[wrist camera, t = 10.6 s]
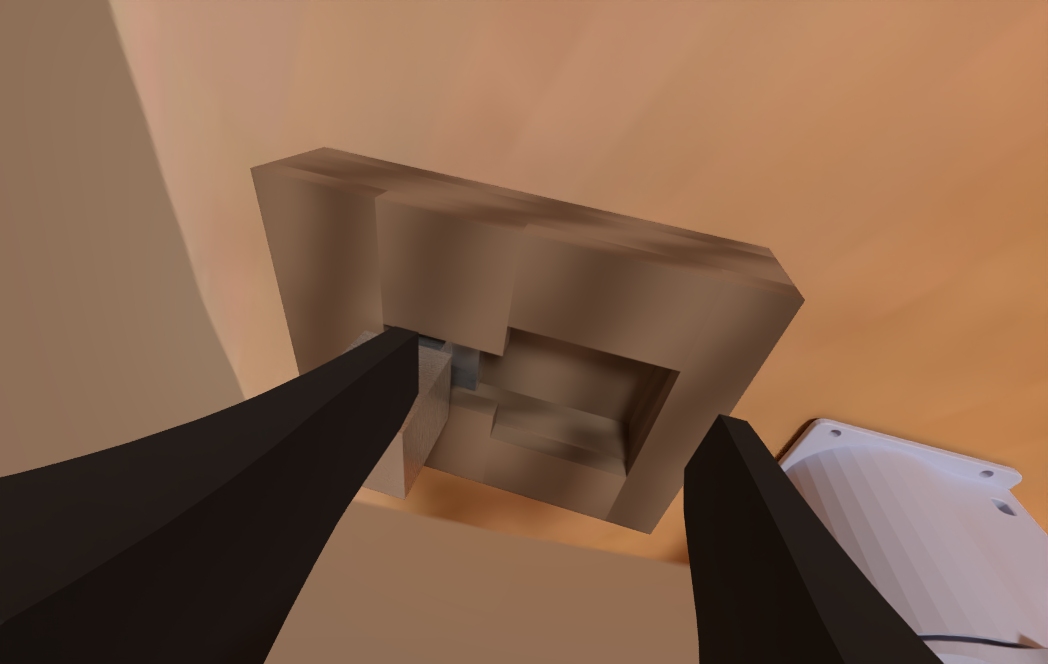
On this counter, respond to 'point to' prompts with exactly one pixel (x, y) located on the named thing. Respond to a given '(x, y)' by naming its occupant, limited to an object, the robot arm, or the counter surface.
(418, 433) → the keyed peg
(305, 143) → the counter surface
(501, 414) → the keyhole plate
